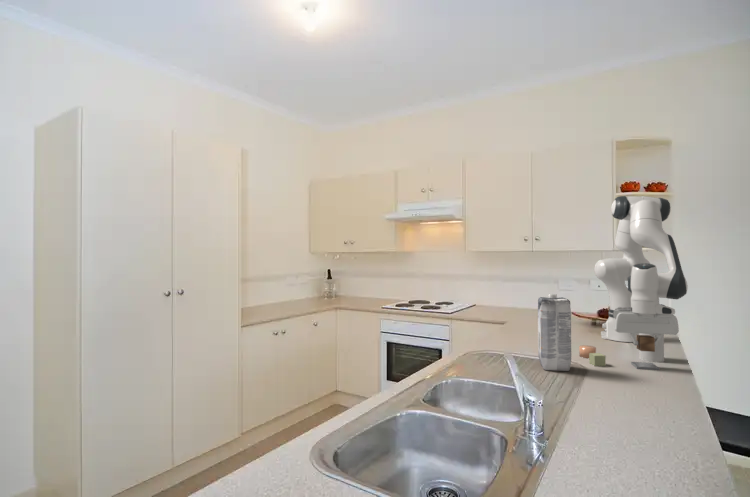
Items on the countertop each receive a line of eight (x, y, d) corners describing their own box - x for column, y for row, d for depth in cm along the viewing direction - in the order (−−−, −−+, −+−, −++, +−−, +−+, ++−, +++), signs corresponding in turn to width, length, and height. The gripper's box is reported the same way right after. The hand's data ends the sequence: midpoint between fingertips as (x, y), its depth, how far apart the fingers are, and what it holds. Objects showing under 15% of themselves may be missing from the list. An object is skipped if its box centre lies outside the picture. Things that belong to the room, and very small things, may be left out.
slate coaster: (631, 363, 158) (631, 361, 158) (652, 365, 156) (652, 362, 156) (637, 368, 151) (637, 366, 151) (659, 370, 149) (659, 368, 149)
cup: (656, 356, 168) (656, 327, 168) (668, 362, 160) (668, 330, 160) (635, 356, 169) (634, 326, 169) (646, 362, 160) (645, 330, 160)
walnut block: (640, 351, 152) (640, 337, 152) (636, 348, 156) (636, 334, 156) (654, 351, 151) (654, 337, 151) (650, 348, 155) (650, 335, 155)
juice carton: (573, 372, 148) (572, 296, 148) (541, 371, 150) (540, 295, 150) (566, 365, 156) (566, 293, 156) (537, 364, 159) (536, 293, 159)
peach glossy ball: (578, 354, 173) (578, 344, 173) (594, 355, 171) (594, 345, 171) (581, 358, 167) (580, 348, 167) (597, 359, 165) (597, 349, 165)
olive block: (589, 363, 159) (589, 353, 159) (599, 363, 159) (599, 353, 159) (594, 366, 155) (594, 355, 155) (605, 366, 155) (605, 355, 155)
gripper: (615, 308, 154) (616, 345, 153) (680, 309, 148) (680, 349, 148) (611, 306, 160) (611, 342, 159) (673, 307, 154) (673, 345, 154)
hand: (645, 345), depth 154 cm, fingers closed on walnut block, 4 cm apart
